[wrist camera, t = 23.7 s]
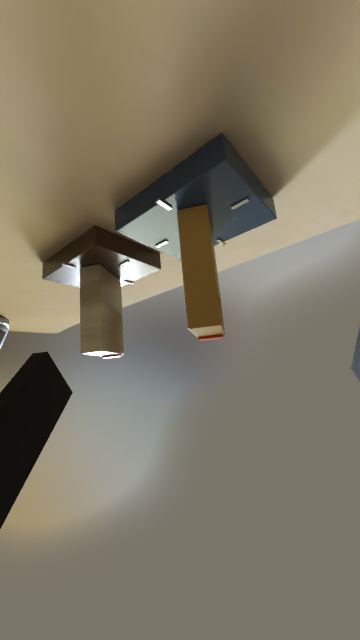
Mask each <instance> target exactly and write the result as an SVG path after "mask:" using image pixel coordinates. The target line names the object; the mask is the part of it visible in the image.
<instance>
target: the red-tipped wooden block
mask: <svg viewBox="0 0 360 640" xmlns="http://www.w3.org/2000/svg"><path fill="white" fill-rule="evenodd" d="M177 220H178V230H179V241H180V251H181V262H182V272H183V283H184V293H185V303H186V314H187V324H188V329H189V330H190V331H191V332H192V333H193V334H194V335H196V336H197V337H198V339H199V340H200V341H203V340H212V339H220V338H223V336H224V335H225V331H224V325H223V324H224V323H223V316H222V308H221V299H220V292H219V284H218V275H217V267H216V259H215V251H214V244H213V236H212V231H211V225H210V219H209V213H208V207H207V204H204V205H199V206H194V207H190V208H185V209H180V210H177Z"/></svg>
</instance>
